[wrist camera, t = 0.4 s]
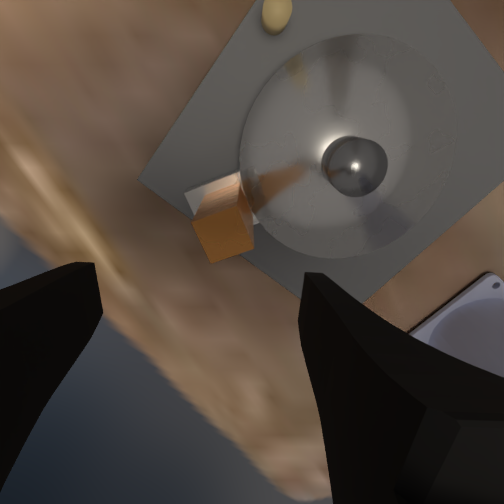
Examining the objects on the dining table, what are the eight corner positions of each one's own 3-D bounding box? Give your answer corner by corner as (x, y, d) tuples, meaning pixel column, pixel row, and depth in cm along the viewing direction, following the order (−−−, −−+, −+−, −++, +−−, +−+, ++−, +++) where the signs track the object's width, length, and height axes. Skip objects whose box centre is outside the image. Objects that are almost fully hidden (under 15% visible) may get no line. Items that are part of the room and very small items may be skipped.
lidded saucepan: (431, -4, 14) (532, -66, 9) (454, 215, 18) (530, 255, 13) (153, 116, 16) (110, 118, 11) (233, 288, 20) (229, 346, 15)
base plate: (534, 135, 18) (586, 140, 15) (332, 315, 23) (344, 343, 20) (339, -117, 13) (362, -175, 11) (143, 175, 18) (125, 187, 16)
